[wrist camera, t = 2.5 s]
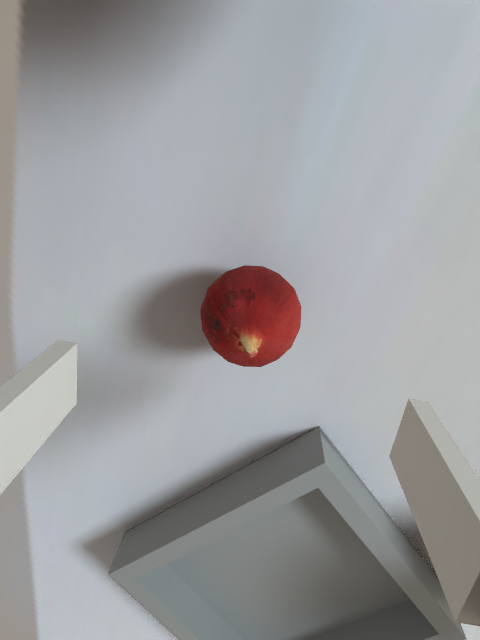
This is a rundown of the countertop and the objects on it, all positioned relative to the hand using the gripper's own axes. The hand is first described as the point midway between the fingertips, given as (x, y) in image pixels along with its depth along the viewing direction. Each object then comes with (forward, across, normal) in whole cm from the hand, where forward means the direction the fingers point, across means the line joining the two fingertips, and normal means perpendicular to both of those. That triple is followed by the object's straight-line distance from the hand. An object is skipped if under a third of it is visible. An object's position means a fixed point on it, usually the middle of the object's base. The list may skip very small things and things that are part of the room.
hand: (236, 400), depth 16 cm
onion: (+12, 0, 0) cm, 13 cm away
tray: (+13, +6, -23) cm, 27 cm away
